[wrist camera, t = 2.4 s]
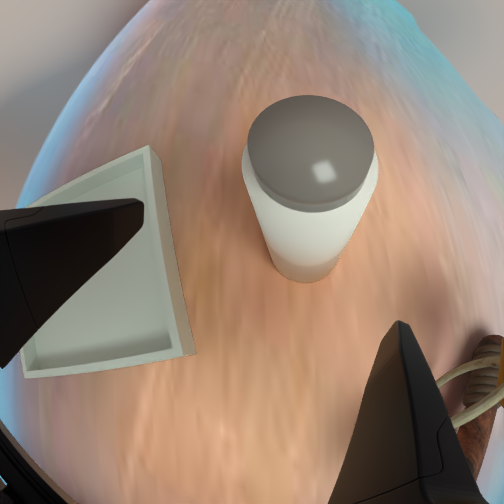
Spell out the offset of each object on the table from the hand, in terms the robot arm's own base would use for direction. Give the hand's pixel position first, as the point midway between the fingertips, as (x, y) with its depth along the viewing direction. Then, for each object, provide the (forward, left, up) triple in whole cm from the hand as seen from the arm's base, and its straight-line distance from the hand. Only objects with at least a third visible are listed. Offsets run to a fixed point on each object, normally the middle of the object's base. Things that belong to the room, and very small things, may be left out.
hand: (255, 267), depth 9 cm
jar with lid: (+3, -3, -11) cm, 12 cm away
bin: (+6, +14, -11) cm, 19 cm away
